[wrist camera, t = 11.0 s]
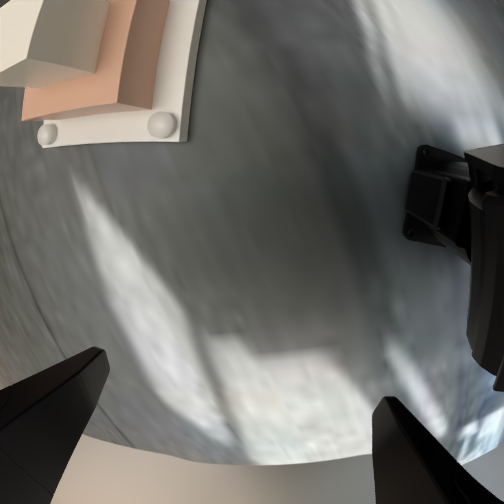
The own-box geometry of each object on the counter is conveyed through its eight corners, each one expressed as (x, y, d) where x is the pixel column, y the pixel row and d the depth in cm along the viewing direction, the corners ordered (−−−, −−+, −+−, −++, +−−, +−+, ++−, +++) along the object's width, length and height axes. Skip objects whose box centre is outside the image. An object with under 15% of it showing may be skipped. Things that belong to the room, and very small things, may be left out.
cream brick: (110, 3, 9) (55, -29, 4) (95, 73, 10) (26, 58, 6) (54, 24, 9) (-1, 9, 4) (40, 88, 11) (-23, 86, 6)
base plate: (209, -13, 12) (186, -54, 7) (187, 142, 17) (148, 141, 11) (75, 16, 13) (34, 0, 8) (54, 146, 17) (5, 154, 12)
